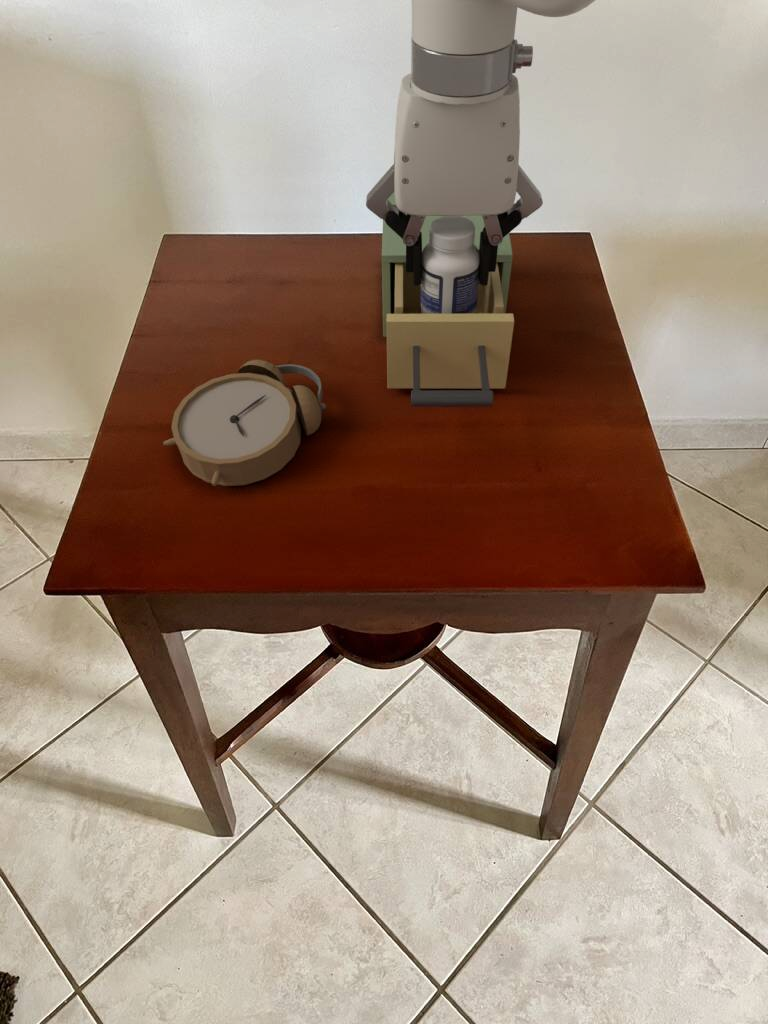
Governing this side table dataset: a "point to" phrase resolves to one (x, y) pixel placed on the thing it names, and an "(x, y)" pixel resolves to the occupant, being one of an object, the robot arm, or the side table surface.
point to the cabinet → (397, 250)
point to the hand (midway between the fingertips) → (449, 275)
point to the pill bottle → (450, 268)
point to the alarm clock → (245, 423)
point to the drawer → (448, 346)
